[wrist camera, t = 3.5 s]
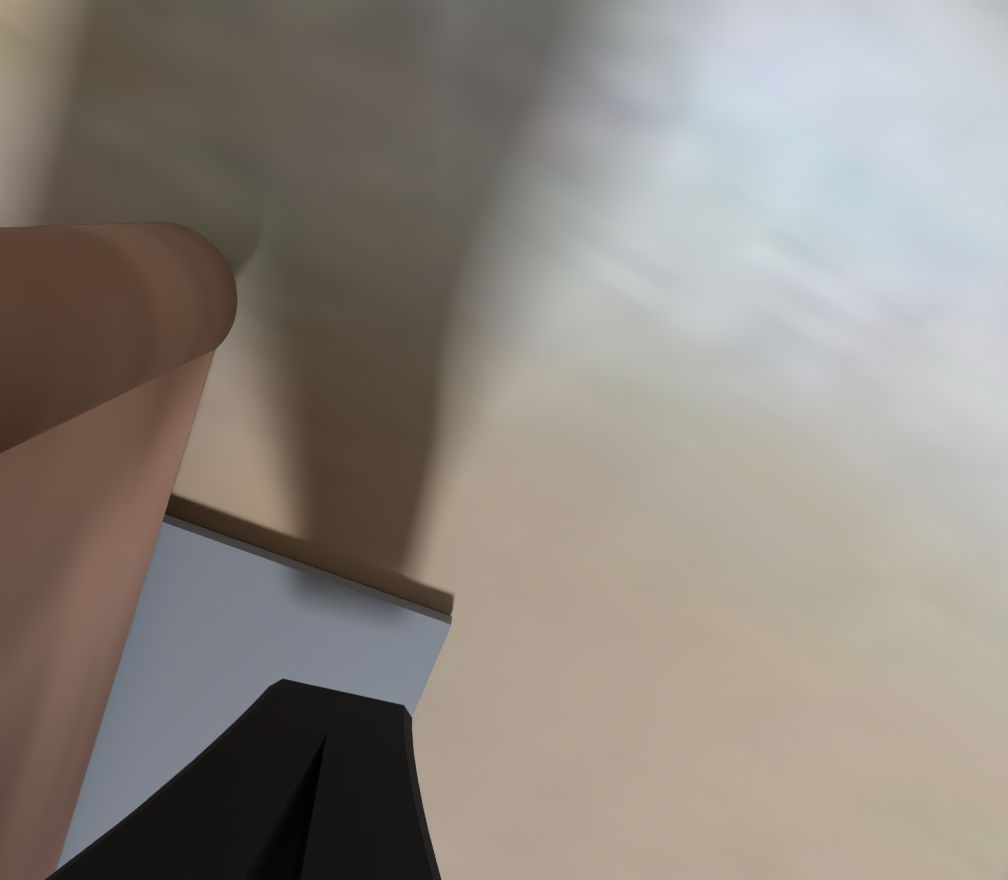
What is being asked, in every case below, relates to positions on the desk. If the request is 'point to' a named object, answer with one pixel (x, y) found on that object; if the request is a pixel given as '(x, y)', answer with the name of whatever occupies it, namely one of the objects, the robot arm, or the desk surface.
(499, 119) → the desk surface
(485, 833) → the desk surface
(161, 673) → the card
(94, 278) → the wooden block
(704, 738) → the desk surface
